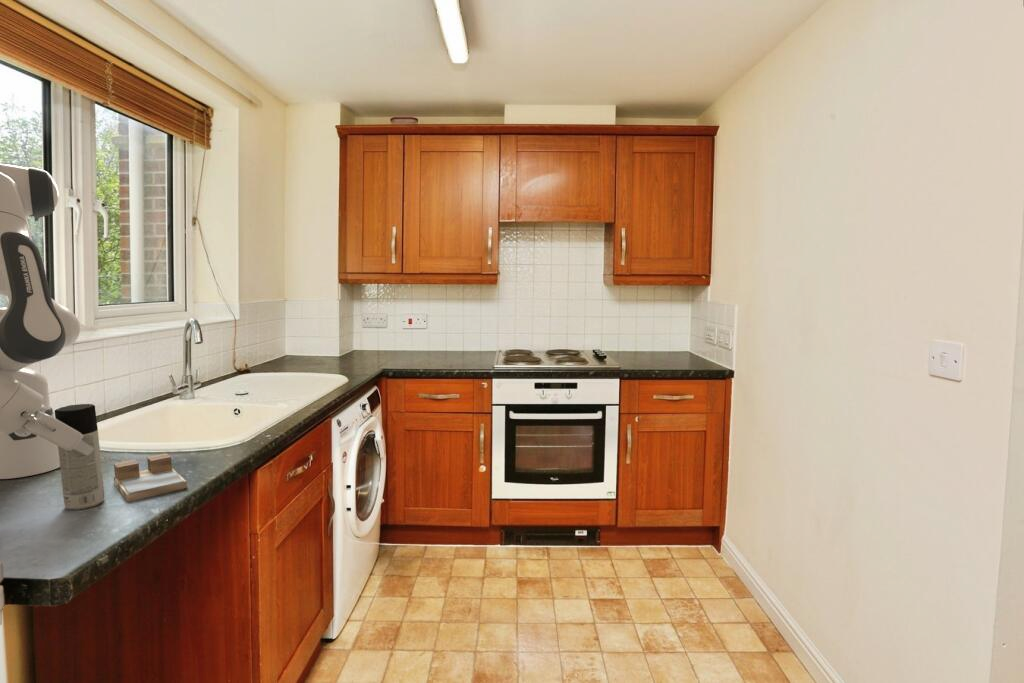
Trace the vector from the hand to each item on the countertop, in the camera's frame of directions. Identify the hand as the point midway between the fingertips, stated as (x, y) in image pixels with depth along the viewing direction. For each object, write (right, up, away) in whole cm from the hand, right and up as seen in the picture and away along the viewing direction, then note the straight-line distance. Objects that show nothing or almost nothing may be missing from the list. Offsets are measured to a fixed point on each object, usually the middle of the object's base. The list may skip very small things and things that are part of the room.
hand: (83, 448), depth 118 cm
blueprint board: (+7, -10, +11) cm, 16 cm away
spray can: (0, -12, +1) cm, 12 cm away
